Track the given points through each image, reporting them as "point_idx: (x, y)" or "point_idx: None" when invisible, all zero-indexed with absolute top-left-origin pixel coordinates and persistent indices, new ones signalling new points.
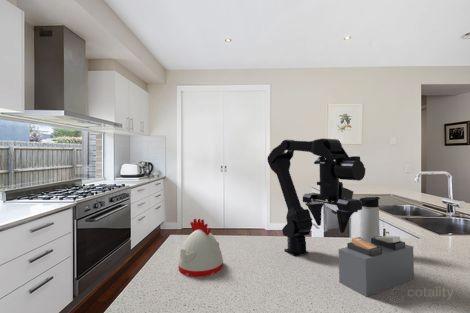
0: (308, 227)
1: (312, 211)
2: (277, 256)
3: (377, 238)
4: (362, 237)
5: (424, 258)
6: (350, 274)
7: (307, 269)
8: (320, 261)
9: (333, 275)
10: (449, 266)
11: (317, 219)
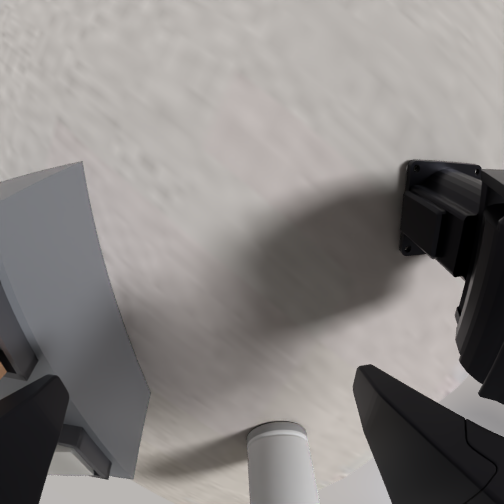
0: (468, 323)
1: (485, 470)
2: (446, 85)
3: (60, 449)
4: (289, 467)
5: (185, 475)
6: (6, 186)
7: (249, 104)
8: (302, 237)
9: (143, 183)
10: (135, 470)
11: (385, 417)
